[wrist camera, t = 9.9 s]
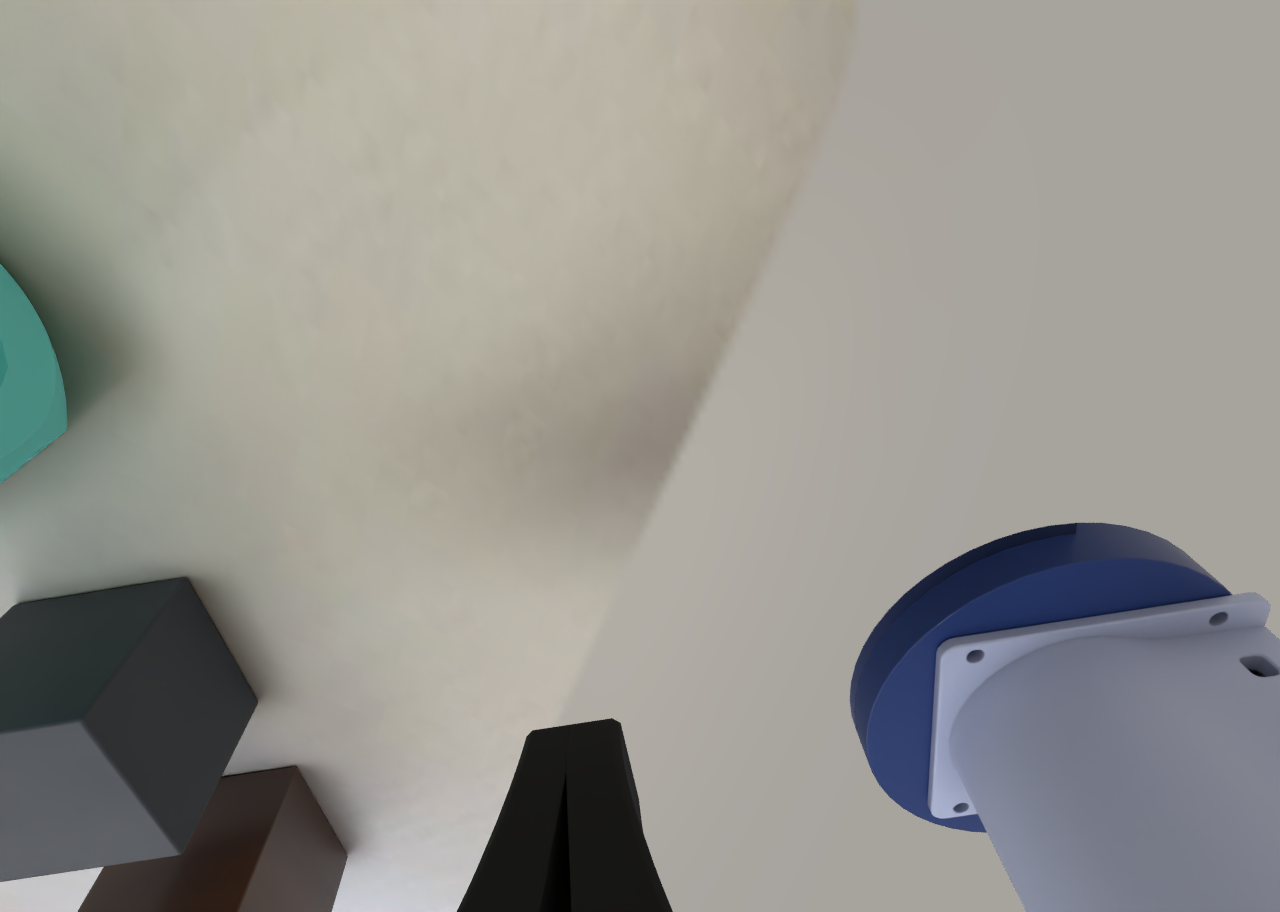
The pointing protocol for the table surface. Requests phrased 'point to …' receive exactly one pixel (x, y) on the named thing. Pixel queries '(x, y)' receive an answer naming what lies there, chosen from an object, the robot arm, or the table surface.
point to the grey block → (112, 726)
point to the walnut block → (238, 856)
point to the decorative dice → (26, 381)
